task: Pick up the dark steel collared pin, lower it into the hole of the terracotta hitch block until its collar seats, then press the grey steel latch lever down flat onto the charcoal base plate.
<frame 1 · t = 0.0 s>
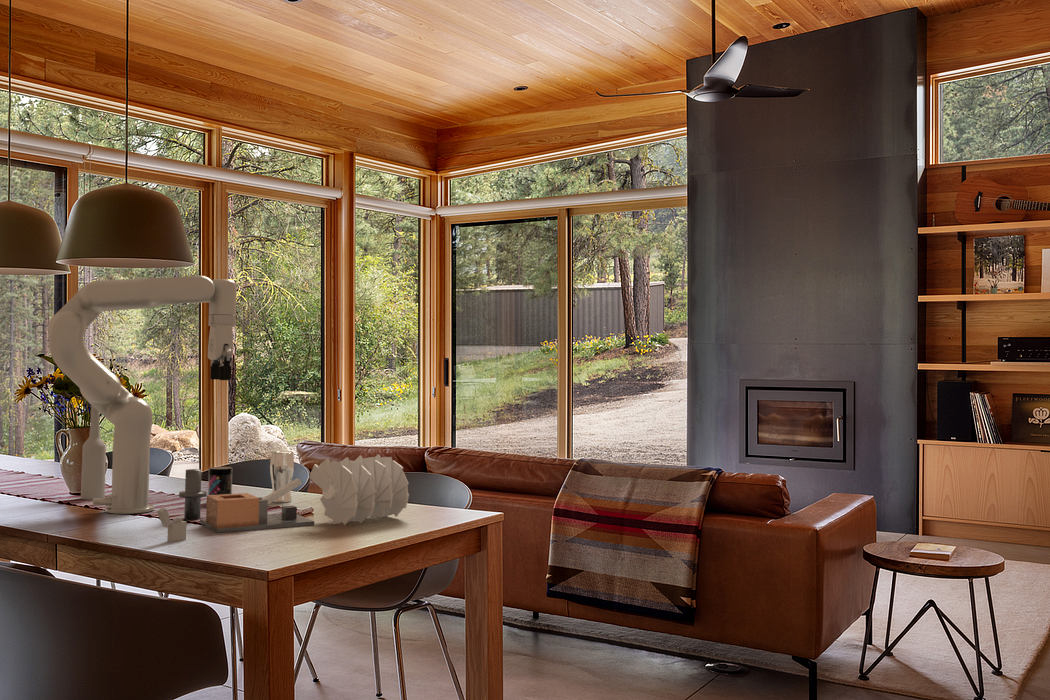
hand: (220, 379, 272), 37 cm above the table, tool pointing down, fingers open, 9 cm apart
lighter: (171, 542, 216), on the table
steel pin: (192, 518, 248), on the table
latch lever: (279, 492, 245), point 8 cm above the table, hinge at 28.0°
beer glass: (281, 502, 281), on the table
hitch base: (253, 524, 241), on the table
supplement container: (219, 503, 276), on the table
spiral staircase: (362, 521, 250), on the table
bottle: (92, 498, 280), on the table
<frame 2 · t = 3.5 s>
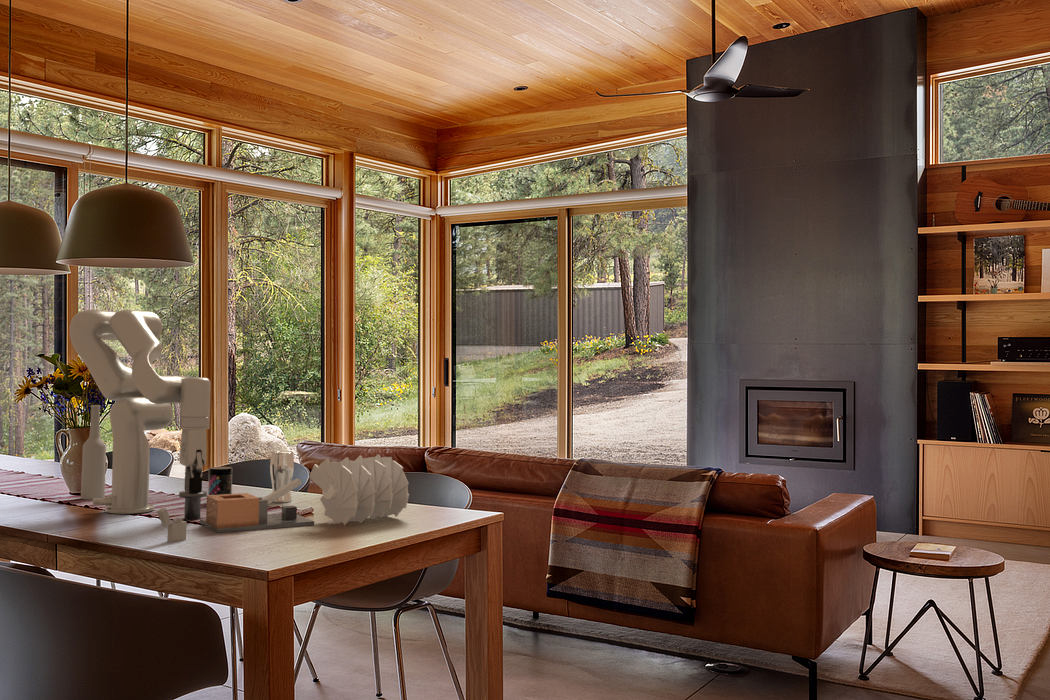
hand: (193, 491, 248), 7 cm above the table, tool pointing down, fingers closed on steel pin, 4 cm apart
steel pin: (192, 518, 248), on the table, touching gripper
everything else where it was.
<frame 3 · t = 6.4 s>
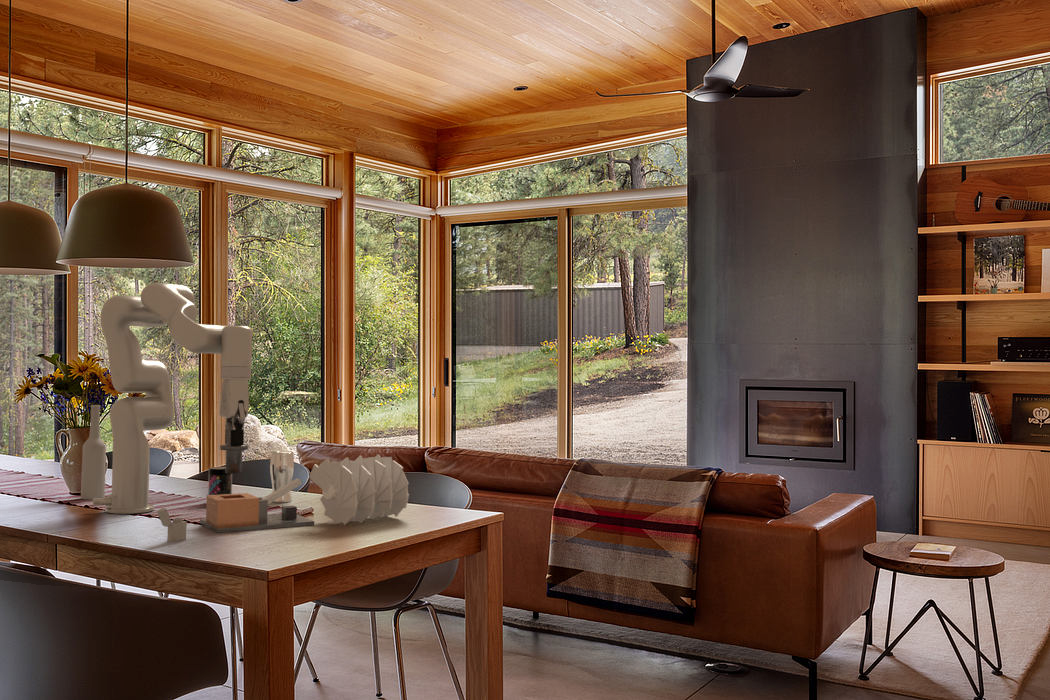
hand: (234, 444, 238), 21 cm above the table, tool pointing down, fingers closed on steel pin, 4 cm apart
steel pin: (233, 472, 238), point 14 cm above the table, touching gripper
everything else where it was.
when the fingers open (10 cm above the table, at t = 9.1 s): steel pin drops 1 cm, resting on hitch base.
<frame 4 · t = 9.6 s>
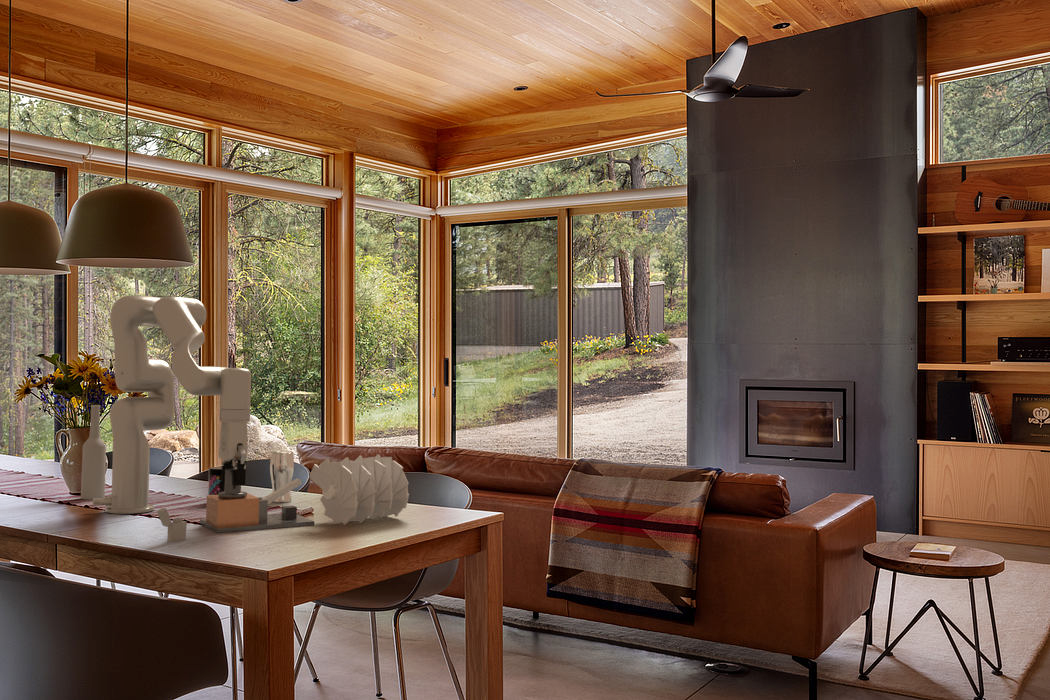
hand: (233, 482, 238), 11 cm above the table, tool pointing down, fingers open, 9 cm apart
steel pin: (232, 520, 238), point 1 cm above the table, touching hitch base
everything else where it was.
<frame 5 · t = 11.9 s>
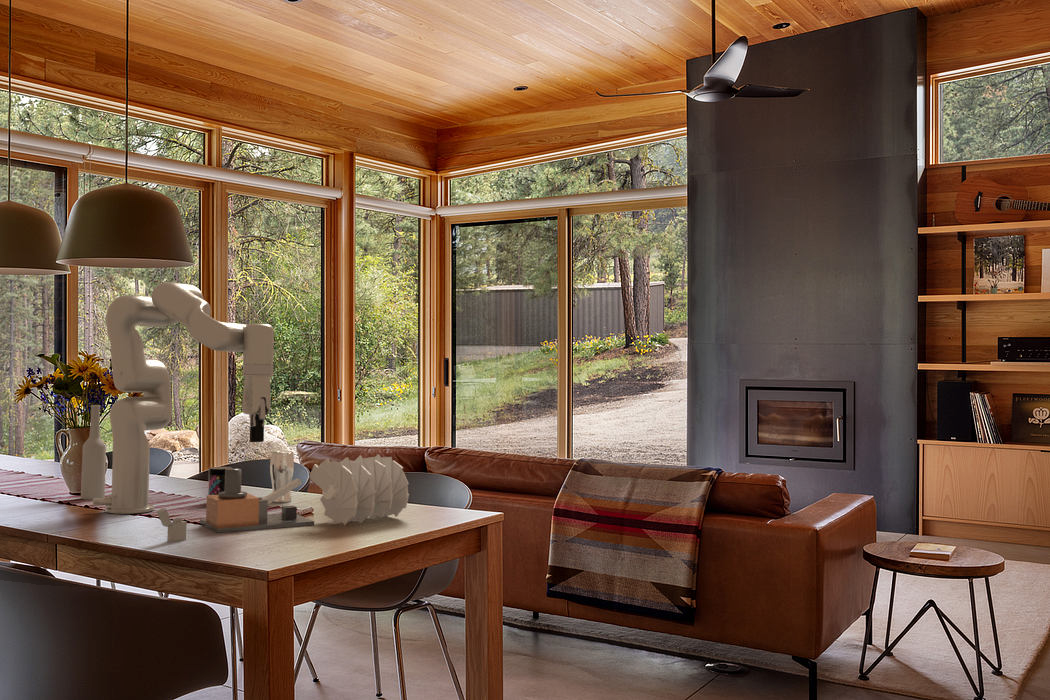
hand: (256, 441, 241), 21 cm above the table, tool pointing down, fingers closed
nothing on the table moved.
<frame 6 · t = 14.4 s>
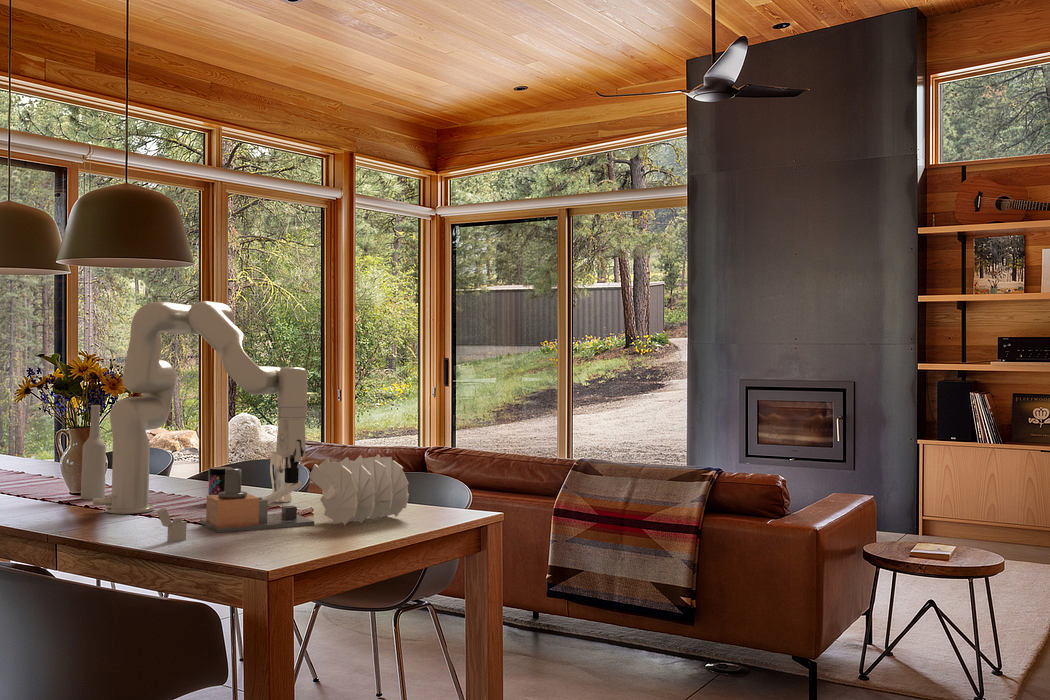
hand: (291, 482, 246), 10 cm above the table, tool pointing down, fingers closed
latch lever: (280, 493, 245), point 8 cm above the table, hinge at 25.5°, touching gripper
everything else where it was.
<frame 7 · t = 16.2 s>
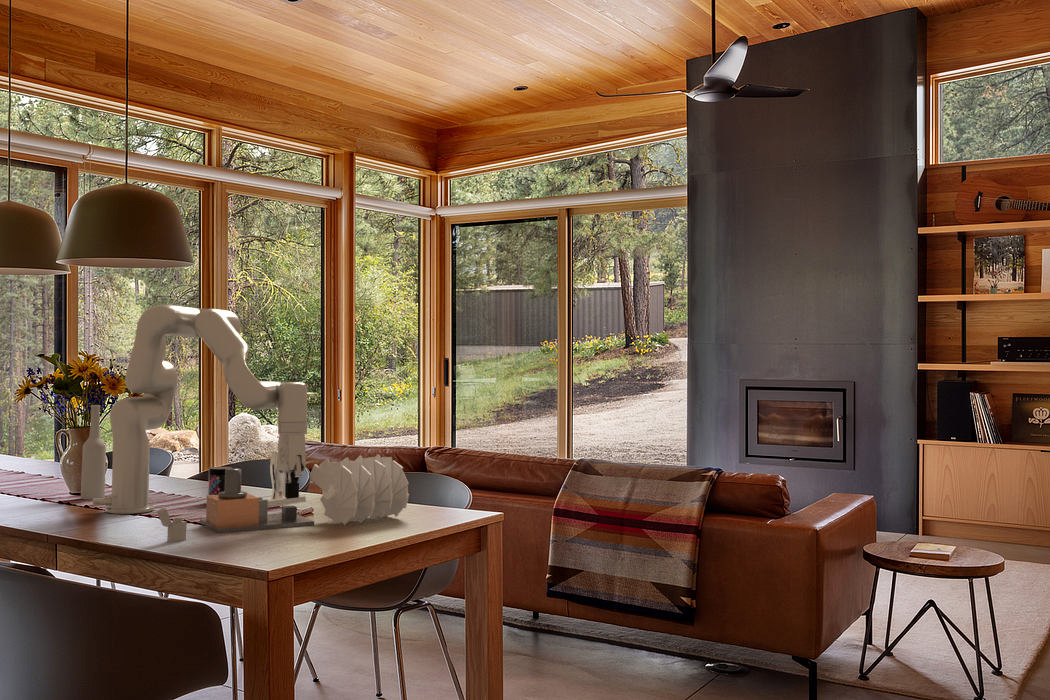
hand: (292, 497, 246), 6 cm above the table, tool pointing down, fingers closed
latch lever: (282, 501, 245), point 5 cm above the table, hinge at 4.5°, touching gripper
everything else where it was.
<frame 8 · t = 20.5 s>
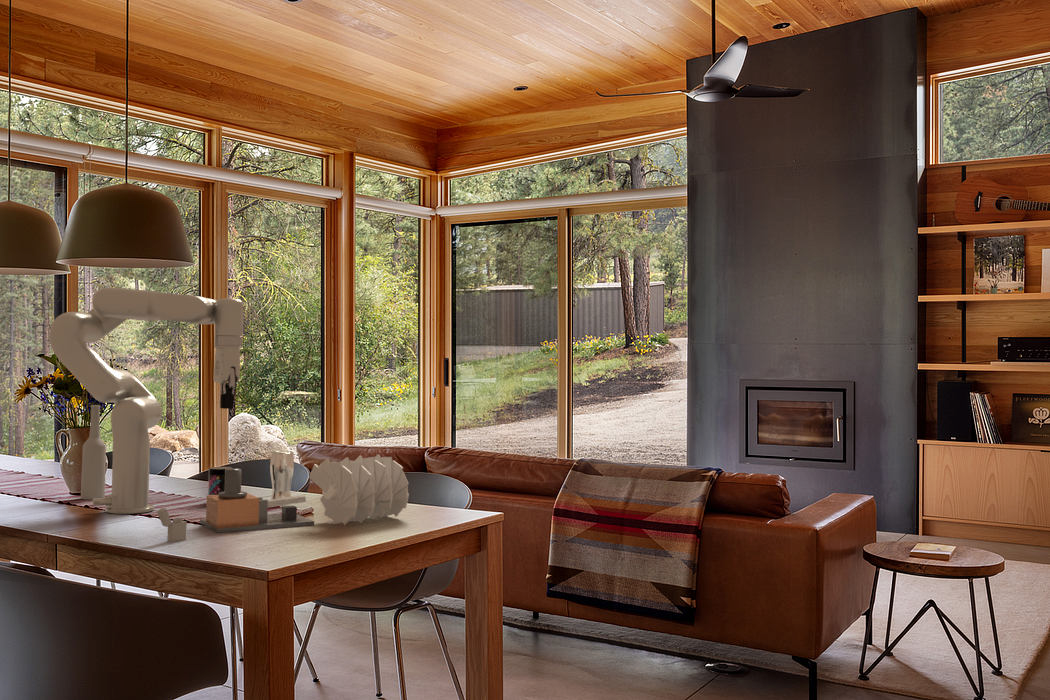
hand: (226, 408, 259), 29 cm above the table, tool pointing down, fingers closed
latch lever: (282, 501, 245), point 5 cm above the table, hinge at 4.3°
everything else where it was.
at the end: steel pin 0.1 cm from the target spot on the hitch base, point 1.5 cm above the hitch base's base; steel pin tilted 0°; latch lever at +4° (first picture: +28°) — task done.
